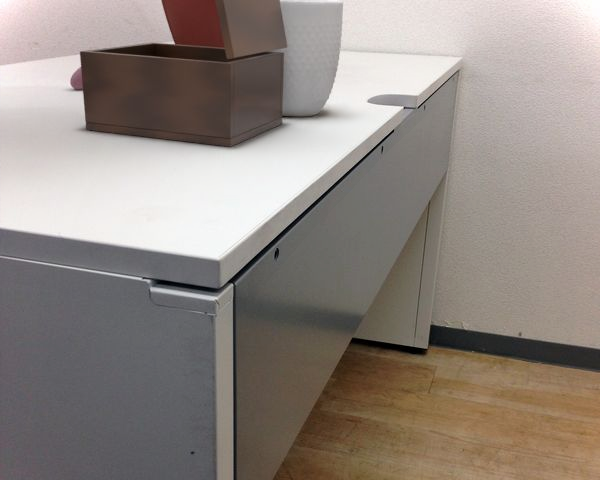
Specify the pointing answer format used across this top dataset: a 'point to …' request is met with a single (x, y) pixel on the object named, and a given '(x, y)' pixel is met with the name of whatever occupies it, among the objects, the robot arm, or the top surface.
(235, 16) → the lid
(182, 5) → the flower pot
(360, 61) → the top surface
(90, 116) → the chest
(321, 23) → the mug
